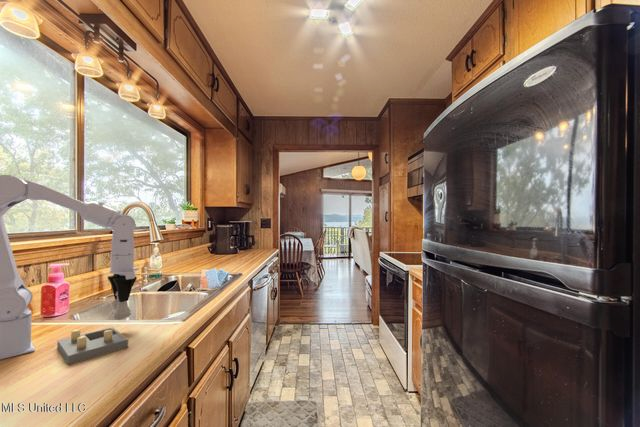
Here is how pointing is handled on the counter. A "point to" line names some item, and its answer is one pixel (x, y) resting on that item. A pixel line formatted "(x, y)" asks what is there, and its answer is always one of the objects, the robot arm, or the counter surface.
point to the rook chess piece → (121, 309)
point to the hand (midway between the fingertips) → (121, 300)
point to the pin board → (90, 344)
